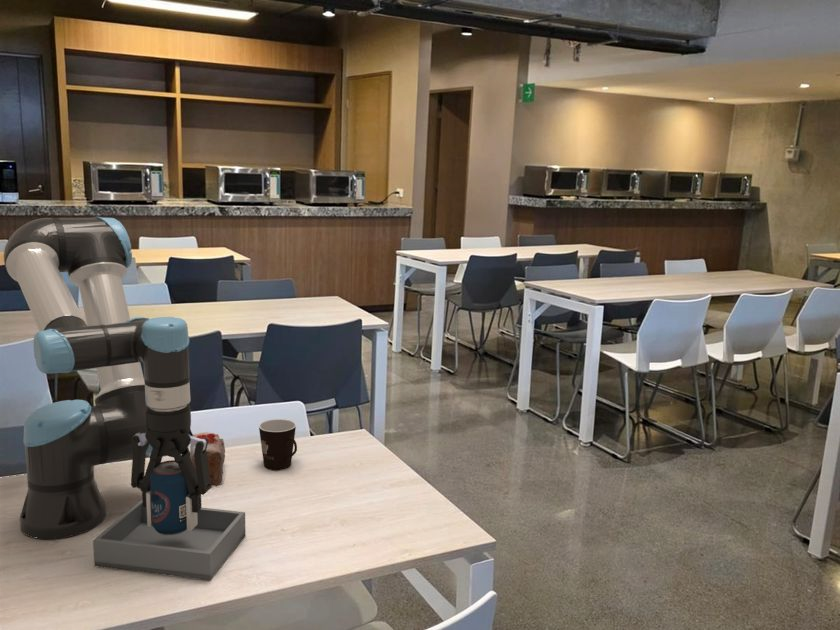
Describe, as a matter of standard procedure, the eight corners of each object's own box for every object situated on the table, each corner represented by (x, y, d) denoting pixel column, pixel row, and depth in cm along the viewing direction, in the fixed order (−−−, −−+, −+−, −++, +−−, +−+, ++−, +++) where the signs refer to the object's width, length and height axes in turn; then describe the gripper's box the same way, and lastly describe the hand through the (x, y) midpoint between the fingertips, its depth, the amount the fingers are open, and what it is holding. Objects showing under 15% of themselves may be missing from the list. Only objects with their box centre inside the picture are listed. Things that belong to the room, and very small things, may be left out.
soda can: (144, 529, 131) (141, 467, 128) (176, 515, 136) (173, 455, 134) (168, 541, 127) (166, 477, 125) (200, 526, 133) (198, 465, 130)
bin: (94, 566, 127) (92, 540, 126) (140, 524, 142) (139, 500, 141) (210, 580, 124) (209, 553, 123) (245, 536, 139) (245, 512, 138)
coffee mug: (257, 459, 175) (257, 420, 173) (293, 456, 177) (293, 418, 175) (262, 479, 164) (261, 437, 162) (300, 475, 167) (300, 435, 165)
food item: (188, 465, 170) (187, 425, 169) (223, 461, 173) (223, 422, 171) (191, 489, 158) (189, 447, 156) (228, 485, 161) (227, 443, 159)
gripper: (103, 407, 125) (110, 529, 129) (212, 416, 122) (215, 541, 127) (127, 394, 132) (133, 510, 137) (230, 403, 129) (232, 521, 134)
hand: (172, 525), depth 132 cm, fingers closed on soda can, 7 cm apart
